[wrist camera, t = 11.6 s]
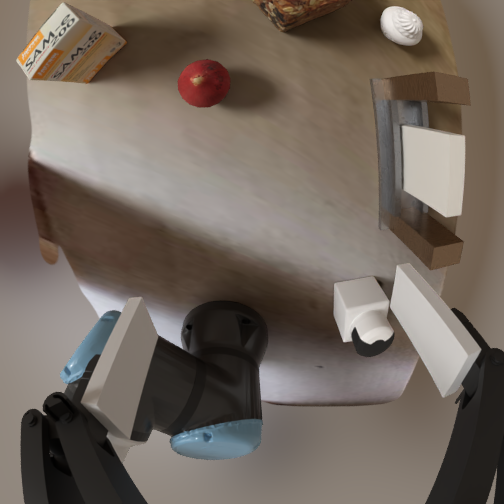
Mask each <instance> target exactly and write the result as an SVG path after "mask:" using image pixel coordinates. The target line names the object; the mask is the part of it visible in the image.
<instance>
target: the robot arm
mask: <svg viewBox="0 0 504 504" xmlns="http://www.w3.org/2000/svg"><path fill="white" fill-rule="evenodd" d="M390 308H391V310H392V311H393V313H394V314H395V316H396V317H397V319H398V321H399V322H400V324H401V325H402V327H403V329H404V330H405V332H406V333H407V335H408V337H409V338H410V340H411V342H412V343H413V345H414V347H415V348H416V350H417V352H418V353H419V355H420V357H421V358H422V360H423V362H424V364H425V366H426V367H427V369H428V371H429V373H430V375H431V376H432V378H433V380H434V382H435V384H436V386H437V387H438V389H439V391H440V393H441V395H442V397H443V398H444V397H446V396H448V395H450V394H453V393H455V392H456V391H457V389H458V388H459V386H460V385H461V384H462V386H463V387H464V390H463V391H462V392H461V394H460V395H459V397H458V398H457V399H456V402H455V403H456V404H457V403H458V401H459V400H460V404H459V408H458V412H457V417H456V420H455V424H454V428H453V432H452V435H451V439H450V442H449V445H448V448H447V451H446V454H445V458H444V460H443V463H442V465H441V468H440V471H439V473H438V476H437V478H436V481H435V483H434V486H433V488H432V490H431V492H430V495H429V497H428V499H427V501H426V503H425V504H486V502H487V499H488V496H489V493H490V490H491V486H492V483H493V480H494V476H495V472H496V469H497V479H496V489H495V497H494V504H504V352H503V351H502V350H500V349H498V348H492V349H491V348H490V347H489V346H488V344H487V343H486V342H485V340H484V339H483V338H482V336H481V335H480V334H479V333H478V331H477V330H476V329H475V328H474V327H473V325H472V324H471V323H470V322H469V320H468V319H467V318H466V316H465V315H464V314H463V313H462V312H460V311H459V310H457V309H456V308H452V309H450V308H449V307H448V306H447V305H446V304H445V302H444V301H443V300H442V299H441V298H440V297H439V295H438V294H437V293H436V292H435V291H434V290H433V289H432V287H431V286H430V285H429V284H428V283H427V282H426V281H425V280H424V279H423V277H422V276H421V275H420V274H419V273H418V272H417V271H416V270H415V269H414V268H413V267H412V266H411V265H410V263H406V264H400V265H397V270H396V276H395V282H394V287H393V293H392V298H391V303H390ZM181 341H182V346H183V349H181V348H180V347H178V346H176V345H174V344H173V343H171V342H169V341H167V340H166V339H164V338H162V337H161V336H159V335H158V334H157V332H156V329H155V327H154V325H153V322H152V320H151V318H150V315H149V313H148V310H147V308H146V305H145V303H144V300H143V298H142V297H134V298H129V300H128V301H127V303H126V305H125V307H124V309H123V311H122V313H121V312H119V311H116V310H112V311H108V312H106V313H105V314H104V315H103V316H102V317H101V318H100V319H99V321H98V322H97V323H96V324H95V326H94V327H93V328H92V330H91V331H90V332H89V334H88V335H87V336H86V338H85V339H84V340H83V342H82V343H81V344H80V346H79V347H78V349H77V350H76V351H75V353H74V354H73V356H72V357H71V358H70V360H69V361H68V363H67V364H66V366H65V367H64V369H63V370H62V372H61V373H60V377H61V379H62V380H63V382H64V383H66V384H68V386H67V388H66V390H65V393H62V392H55V393H52V394H51V395H49V396H48V397H47V398H46V400H45V401H44V404H43V411H44V412H45V413H46V414H47V415H43V414H42V413H41V412H40V411H38V410H37V409H31V410H28V411H27V412H26V413H25V414H24V416H23V418H22V422H21V473H22V485H23V494H24V502H25V504H148V503H147V502H146V501H145V499H144V498H143V496H142V495H141V493H140V492H139V490H138V489H137V487H136V486H135V484H134V483H133V481H132V479H131V478H130V476H129V474H128V473H127V471H126V469H125V468H124V466H123V464H122V463H123V461H124V459H125V457H126V455H127V453H128V451H129V449H130V447H132V446H135V445H140V444H144V443H146V442H147V440H148V438H149V436H150V434H151V432H152V430H153V429H154V430H158V431H160V432H163V433H165V434H168V435H170V436H171V439H170V443H171V448H172V449H173V450H174V451H176V452H177V453H178V454H180V455H183V456H186V457H190V458H196V459H206V460H220V459H231V458H237V457H241V456H244V455H247V454H249V453H251V452H253V451H254V450H256V449H257V448H258V446H259V445H260V443H261V430H262V429H261V428H262V425H263V422H262V410H261V395H260V380H259V367H260V364H261V361H262V359H263V356H264V353H265V351H266V348H267V344H268V334H267V327H266V324H265V322H264V320H263V319H262V317H261V316H260V315H259V314H258V313H257V312H255V311H254V310H252V309H251V308H249V307H247V306H245V305H242V304H239V303H235V302H230V301H213V302H208V303H205V304H202V305H200V306H198V307H196V308H194V309H193V310H192V311H191V312H190V313H189V314H188V315H187V316H186V318H185V320H184V323H183V327H182V331H181Z"/></svg>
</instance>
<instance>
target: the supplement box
mask: <svg viewBox="0 0 504 504" xmlns="http://www.w3.org/2000/svg"><path fill="white" fill-rule="evenodd" d="M126 43H127V42H126V41H125V40H124V39H123V38H122V37H121V36H120V35H119V34H118V33H117V32H116V31H115V30H114V29H113V28H112V27H111V26H110V25H108V24H106V23H104V22H102V21H101V20H99V19H97V18H95V17H93V16H91V15H89V14H87V13H85V12H83V11H81V10H79V9H77V8H75V7H73V6H71V5H69V4H67V3H65V2H63V3H62V4H61V5H60V6H59V7H58V8H57V9H56V10H55V11H54V12H53V13H52V15H51V16H50V17H49V18H48V19H47V20H46V21H45V23H44V24H43V25H42V26H41V27H40V29H39V30H38V31H37V32H36V34H35V35H34V36H33V38H32V39H31V40H30V41H29V43H28V44H27V46H26V47H25V48H24V50H23V51H22V53H21V54H20V55H19V57H18V58H17V60H16V61H17V62H18V64H19V65H20V67H21V68H22V69H23V70H24V72H25V74H26V75H27V77H28V78H29V79H30V80H48V81H64V82H76V83H86V84H87V83H89V81H90V80H91V79H92V78H93V77H94V76H95V74H96V73H97V72H98V71H99V70H100V69H101V68H102V67H103V66H104V65H105V63H106V62H107V61H108V60H109V59H110V58H111V57H112V56H113V55H114V54H115V53H117V52H118V51H119V50H120V49H121V48H122V47H123V46H124V45H125V44H126Z"/></svg>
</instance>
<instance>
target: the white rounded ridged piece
mask: <svg viewBox="0 0 504 504" xmlns="http://www.w3.org/2000/svg"><path fill="white" fill-rule="evenodd" d="M380 21H381V22H380V23H381V30H382V32H383V34H384V36H386V37H387V38H388V39H390V40H391V41H393V42H395V43H397V44H400V45H406V46H412V45H416V44H417V43H419V41H420V40H421V38H422V30H423V24H422V21H421V20H420V18H419V17H417V15H416V14H414V13H413V12H412V11H411V12H410V11H408V10H407V9H405V8H402V7H398V6H392V7H388V8H386V9H385V10H384V11H383V13H382V16H381V19H380Z"/></svg>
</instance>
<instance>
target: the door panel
mask: <svg viewBox="0 0 504 504" xmlns="http://www.w3.org/2000/svg"><path fill="white" fill-rule="evenodd" d="M399 126H400V141H401V170H402V189H403V190H404V191H406V192H408V193H409V194H411V195H413V196H414V197H416V198H417V199H419V200H421V201H422V202H424V203H425V204H427V205H428V206H430V207H431V208H433V209H434V210H436V211H437V212H439V213H440V214H442V215H443V216H445V217H452V216H458V215H461V211H462V202H463V191H464V175H465V136H463V135H459V134H455V133H451V132H446V131H441V130H436V129H431V128H426V127H420V126H415V125H399Z"/></svg>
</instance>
